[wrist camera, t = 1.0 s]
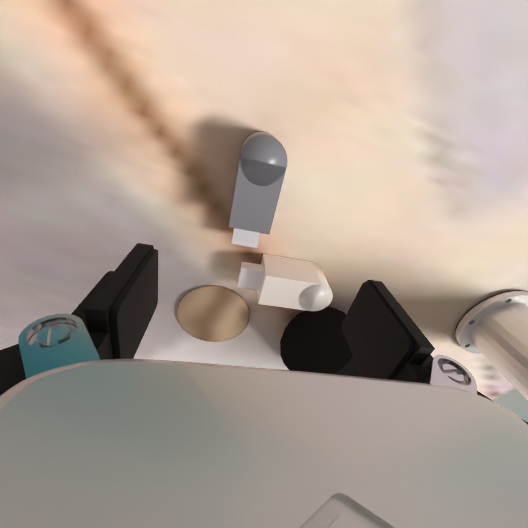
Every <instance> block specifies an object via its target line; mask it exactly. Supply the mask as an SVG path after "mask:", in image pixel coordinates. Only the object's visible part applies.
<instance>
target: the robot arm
mask: <svg viewBox="0 0 528 528" xmlns="http://www.w3.org/2000/svg"><path fill="white" fill-rule="evenodd" d="M157 302H158V250H156V249H154V247H153V245H147V244H140V243H138V244H136V246H135V247H134V248H133V249H132V251H131V252H130V253H129V254H128V255H127V257H126V258H125V259H124V260H123V262H122V263H121V264H120V265H119V266H118V268H117V269H116V270H115V271H109V272H107V273H106V274H105V275H104V277H103V278H102V279H101V280H100V281H99V282H98V284H97V285H96V286H95V287H94V288H93V289H92V291H91V292H90V293H89V294H88V295H87V296H86V298H85V299H84V300H83V301H82V302H81V303H80V305H79V306H78V307H77V308H76V309H75V310H74V312H73V313H72V314H55V315H50V316H46V317H44V318H41V319H38V320H36V321H35V322H33V323H31V324H29V325H28V326H27V327H26V328H25V329H24V330H23V331H22V332H21V334H20V335H19V341H18V343H19V344H16V345H14V346H11V347H8V348H5V349H3V350H0V528H528V422H526V421H524V420H523V419H521V418H520V417H519V416H517V415H516V414H515V413H513V412H512V411H510V410H508V409H507V408H505V407H503V406H502V405H500V404H498V403H495V402H494V401H492V400H491V399H489V398H488V397H486V396H484V395H483V394H481V393H480V392H478V391H477V386H476V381H475V379H474V377H473V376H472V374H471V373H470V372H469V371H468V370H467V369H466V368H465V367H464V366H463V365H461V364H460V363H459V362H457V361H455V360H454V359H452V358H449V357H447V356H443V355H437V356H435V357H434V358H433V357H432V356H431V355H430V354H431V353H432V352H433V350H434V349H435V348H434V347H433V346H432V344H431V343H430V342H429V341H428V339H427V338H426V337H425V336H424V334H423V333H422V332H421V331H420V329H419V328H418V327H417V326H416V324H415V323H414V322H413V321H412V319H411V318H410V317H409V316H408V314H407V313H406V312H405V311H404V309H403V308H402V307H401V305H400V304H399V303H398V302H397V300H396V299H395V298H394V297H393V295H392V294H391V293H390V292H389V290H388V289H387V288H386V287H385V285H384V284H383V283H382V282H380V281H374V280H368V281H366V282H364V283H363V284H362V286H361V288H360V290H359V292H358V294H357V296H356V298H355V300H354V301H353V303H352V305H351V307H350V309H349V311H348V313H347V315H346V317H345V319H344V321H343V323H342V331H343V333H344V336H345V338H346V340H347V342H348V345H349V347H350V349H351V352H352V354H353V356H354V358H355V361H356V363H357V365H358V368H359V370H360V372H361V374H362V377H356V376H346V375H335V374H324V373H313V372H301V371H290V370H279V369H267V368H255V367H243V366H231V365H219V364H207V363H194V362H181V361H167V360H149V359H133V357H134V355H135V353H136V351H137V349H138V346H139V344H140V342H141V340H142V338H143V335H144V333H145V331H146V329H147V327H148V324H149V322H150V320H151V318H152V316H153V314H154V311H155V309H156V306H157ZM456 340H457V342H458V343H459V344H460V346H461V347H462V348H463V349H465V350H466V351H469V352H472V353H482V354H483V355H484V356H485V357H486V358H487V359H488V360H489V361H490V362H491V363H492V364H493V365H494V366H495V367H496V368H497V369H498V370H499V371H500V372H501V373H502V374H503V375H504V376H505V378H506V379H507V380H508V381H509V382H510V383H511V384H512V385H513V386H514V387H515V388H516V389H517V390H518V391H519V392H520V393H521V394H522V395H523V396H524V397H525V398H526V399H527V400H528V292H525V291H512V292H506V293H502V294H499V295H496V296H493V297H491V298H488V299H487V300H485V301H483V302H481V303H479V304H478V305H477V306H475V307H474V308H472V309H471V310H470V311H469V312H468V313H467V314H466V315H465V316H464V317H463V318H462V320H461V321H460V323H459V324H458V327H457V329H456Z"/></svg>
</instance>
